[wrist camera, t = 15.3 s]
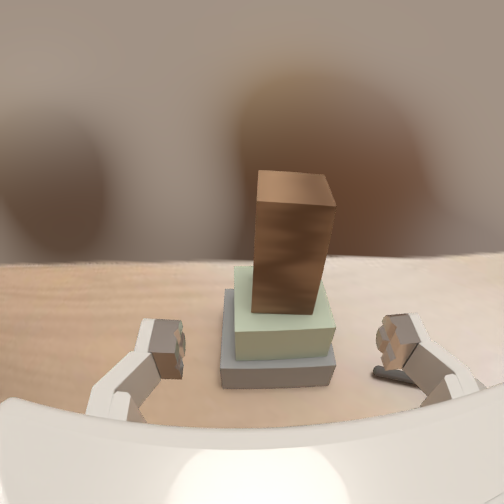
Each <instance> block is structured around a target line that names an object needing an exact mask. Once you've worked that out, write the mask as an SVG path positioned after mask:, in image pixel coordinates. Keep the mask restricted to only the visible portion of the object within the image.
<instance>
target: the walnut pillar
mask: <svg viewBox="0 0 504 504" xmlns="http://www.w3.org/2000/svg"><path fill="white" fill-rule="evenodd" d="M335 212H336V204H335V201H334V198H333V196H332V193H331V191H330V188H329V186H328V183H327V181H326V178H325V175H320V174H308V173H296V172H281V171H263V170H259V173H258V189H257V207H256V226H255V246H254V265H253V285H252V304H251V313H269V314H292V315H313V311H314V307H315V303H316V299H317V295H318V291H319V286H320V282H321V278H322V273H323V269H324V265H325V260H326V256H327V251H328V245H329V241H330V236H331V232H332V227H333V222H334V217H335Z"/></svg>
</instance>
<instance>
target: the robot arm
mask: <svg viewBox="0 0 504 504" xmlns="http://www.w3.org/2000/svg"><path fill="white" fill-rule="evenodd" d="M382 323H383V325H382V326H381V327H380V328H379V329H378V331H377V334H376V344H377V348H378V350H379V351H380V352H382V353H383V354H382V357H381V359H382V362H383V365H384V368H385V371H387V370H395V369H402V370H403V371H404V372H405V373H406V374H407V375H408V376H409V377H410V378H411V379H412V380H413V382H414V383H415V384H416V385H417V386H418V387H419V388H420V389H421V390H422V391H423V392H424V393H425V394H426V395H427V396H428V397H427V398H426V399H425V400H424V401H423V402H422V404H421V405H420V408H415V409H411V410H406V411H401V412H397V413H391V414H386V415H381V416H375V417H369V418H363V419H356V420H349V421H342V422H334V423H325V424H315V425H304V426H290V427H272V428H199V427H181V426H167V425H156V424H147V422H146V420H145V419H144V417H143V415H142V414H141V412H140V411H139V409H138V408H139V407H140V406H141V405H142V403H143V402H144V401H145V400H146V398H147V397H148V396H149V395H150V393H151V392H152V391H153V390H154V388H155V387H156V386H157V385H158V383H159V382H160V381H161V379H180V380H182V374H183V366H184V365H183V361H182V358H183V357H184V356H185V335H184V333H183V332H182V328H183V325H182V321H181V320H165V319H147V318H144V319H143V320H142V322H141V325H140V329H139V333H138V337H137V341H136V345H135V349H134V351H130V352H129V353H128V354H127V355H126V356H125V357H124V358H123V359H122V360H121V361H120V362H118V363H117V364H116V365H115V366H114V367H113V368H112V369H111V370H110V371H109V372H108V373H107V374H106V375H105V376H104V377H102V378H101V379H100V380H99V381H98V382H97V383H96V384H95V385H94V386H93V387H92V391H91V394H90V398H89V402H88V406H87V410H86V414H81V413H76V412H71V411H67V410H62V409H58V408H54V407H50V406H46V405H42V404H38V403H34V402H31V401H27V400H24V399H20V398H17V397H10V398H8V399H6V400H5V401H3V402H2V403H0V504H504V382H503V383H500V384H497V385H495V386H492V387H489V388H486V389H483V390H479V388H478V385H477V383H476V381H475V379H474V376H473V374H472V372H471V370H470V368H469V367H467V366H466V365H465V364H463V363H462V362H461V361H460V360H458V359H457V358H456V357H455V356H453V355H452V354H451V353H449V352H448V351H447V350H446V349H444V348H443V347H442V346H440V345H439V344H438V343H437V342H435V341H431V339H430V337H429V334H428V332H427V330H426V328H425V326H424V324H423V322H422V320H421V318H420V316H419V314H418V313H407V314H395V315H386V316H385V317H384V318H383V320H382Z"/></svg>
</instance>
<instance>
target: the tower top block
mask: <svg viewBox="0 0 504 504" xmlns="http://www.w3.org/2000/svg"><path fill="white" fill-rule="evenodd" d="M252 285H253V266H234V308H235V353H236V361H251V360H278V359H297V358H311V357H324V356H327V354H328V351H329V348H330V345H331V342H332V339H333V336H334V333H335V329H336V325H335V322H334V318H333V315H332V312H331V308H330V305H329V302H328V298H327V295H326V292H325V289H324V286H323V282H322V279H321V282H320V286H319V291H318V295H317V299H316V303H315V307H314V311H313V315H292V314H269V313H251V304H252Z"/></svg>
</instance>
